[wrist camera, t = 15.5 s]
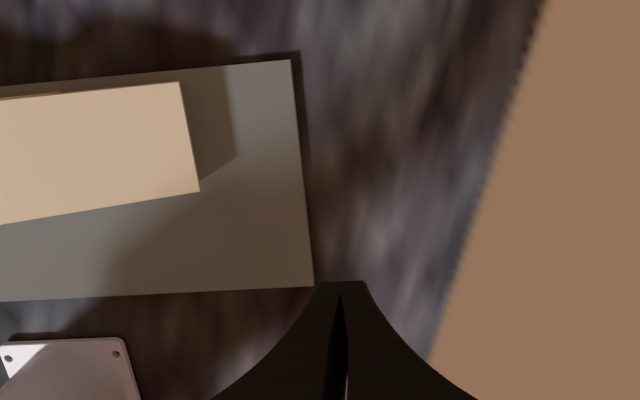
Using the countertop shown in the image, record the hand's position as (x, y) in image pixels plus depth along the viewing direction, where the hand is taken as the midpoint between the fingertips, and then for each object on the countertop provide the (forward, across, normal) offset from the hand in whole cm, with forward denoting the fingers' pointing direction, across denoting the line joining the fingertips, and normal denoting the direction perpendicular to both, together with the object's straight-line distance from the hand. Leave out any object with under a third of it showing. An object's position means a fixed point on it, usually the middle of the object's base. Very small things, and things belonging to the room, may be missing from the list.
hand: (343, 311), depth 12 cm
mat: (+10, +18, -1) cm, 21 cm away
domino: (+9, +7, -4) cm, 12 cm away
